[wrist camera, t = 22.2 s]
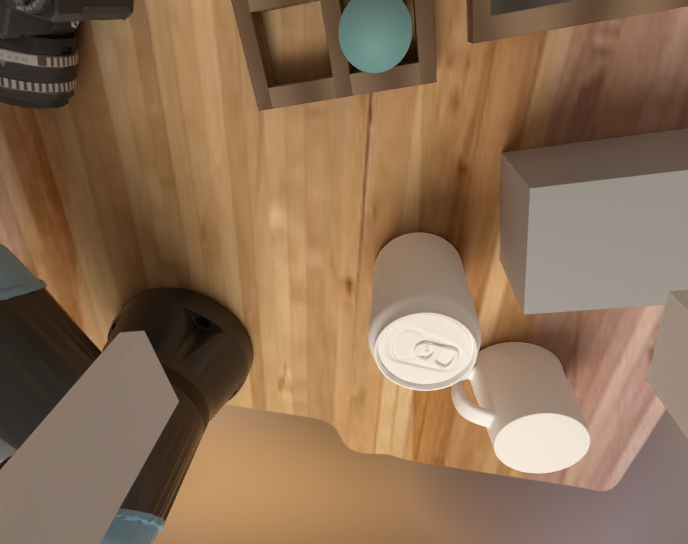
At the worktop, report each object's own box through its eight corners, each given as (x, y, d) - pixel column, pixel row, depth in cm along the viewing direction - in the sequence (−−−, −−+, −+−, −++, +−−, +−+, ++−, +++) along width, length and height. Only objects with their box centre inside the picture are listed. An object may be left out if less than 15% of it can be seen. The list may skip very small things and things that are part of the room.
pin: (360, 58, 32) (344, 78, 22) (353, 3, 30) (332, -3, 20) (408, 50, 31) (415, 66, 21) (403, -7, 30) (408, -19, 19)
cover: (499, 259, 39) (523, 314, 32) (501, 152, 34) (530, 188, 27) (686, 242, 37) (758, 297, 29) (716, 123, 32) (811, 155, 25)
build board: (267, 104, 34) (258, 110, 32) (240, -8, 31) (228, -10, 28) (433, 77, 32) (436, 81, 30) (426, -47, 28) (429, -53, 26)
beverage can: (391, 217, 38) (391, 291, 28) (476, 245, 39) (507, 328, 28) (362, 289, 42) (352, 376, 32) (439, 314, 43) (453, 408, 33)
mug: (617, 425, 35) (575, 482, 39) (576, 349, 43) (544, 404, 48) (474, 397, 35) (446, 457, 39) (459, 327, 43) (437, 383, 48)
